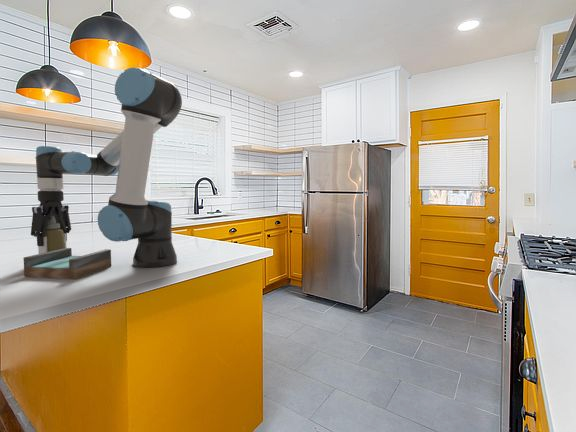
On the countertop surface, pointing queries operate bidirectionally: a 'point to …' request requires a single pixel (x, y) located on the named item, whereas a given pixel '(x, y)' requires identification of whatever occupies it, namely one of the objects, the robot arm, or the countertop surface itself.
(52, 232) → the squeeze bottle
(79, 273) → the dock
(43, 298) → the countertop surface
